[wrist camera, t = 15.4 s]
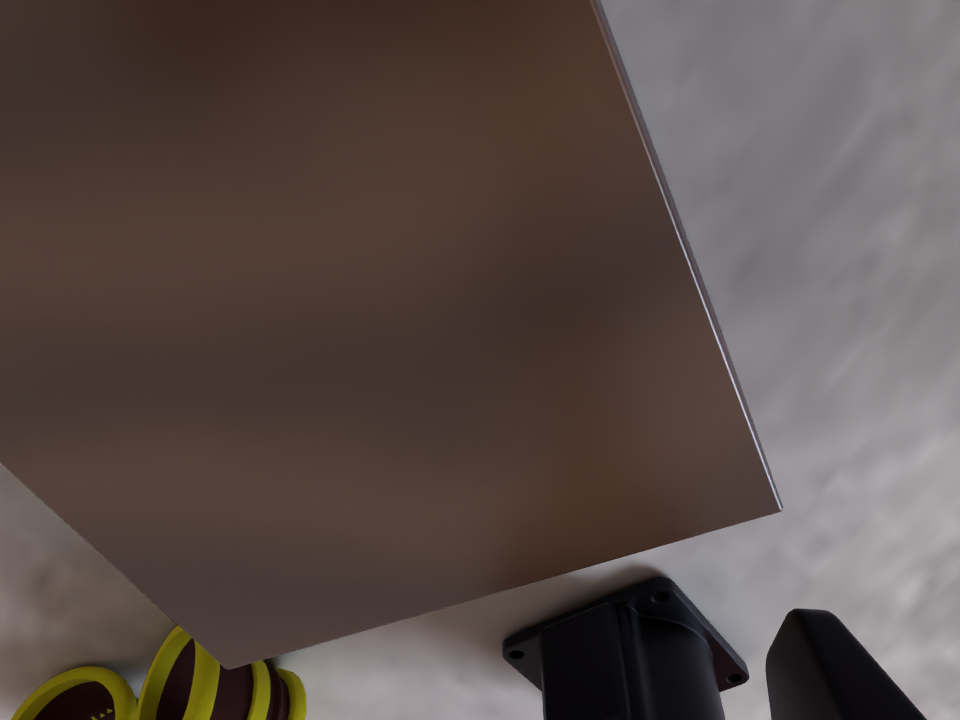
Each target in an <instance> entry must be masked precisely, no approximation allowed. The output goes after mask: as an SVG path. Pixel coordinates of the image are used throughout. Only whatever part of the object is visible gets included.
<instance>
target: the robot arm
mask: <svg viewBox="0 0 960 720" xmlns="http://www.w3.org/2000/svg"><path fill="white" fill-rule="evenodd" d="M502 650H503V658H504V659H505V660H506V661H507V662H508V663H509V664H511V665H512V666H513V667H514V668H515V669H516V670H518V671H519V672H520V673H521V674H522V675H523V676H525V677H526V678H527V679H528V680H529V681H530V682H531V683H533V684H534V685H535V686H536V687H537V688H538V689H540V690H541V691H542V699H543V716H544V720H725V715H724V711H723V707H722V702H721V698H720V693H719V692H722V691H724V690H727V689H730V688H733V687H736V686H739V685H741V684H743V683H745V682H746V681H747V680H748V679H749V673H748V669H747V666H746V663H745V662H744V661H743V660H742V659H741V658H740V657H739V655H738V654H737V653H736V652H735V651H734V650H733V649H732V647H731V646H730V645H729V644H728V643H727V642H726V641H725V640H724V638H723V637H722V636H721V635H720V634H719V633H718V632H717V630H716V629H715V628H714V627H713V626H712V625H711V624H710V622H709V621H708V620H707V619H706V618H705V617H704V616H703V615H702V613H701V612H700V611H699V610H698V609H697V608H696V607H695V605H694V604H693V603H692V602H691V601H690V600H689V599H688V598H687V596H686V595H685V594H684V593H683V592H682V591H681V590H680V588H679V587H678V586H677V585H676V584H675V583H674V582H673V581H672V580H671V579H669V578H665V577H657V578H654V579H651V580H648V581H646V582H643V583H641V584H638V585H636V586H633V587H631V588H628V589H626V590H624V591H621V592H619V593H616V594H614V595H611V596H609V597H606V598H604V599H601V600H599V601H597V602H594V603H592V604H589V605H587V606H584V607H582V608H579V609H577V610H574V611H572V612H570V613H567V614H565V615H562V616H560V617H557V618H555V619H552V620H550V621H547V622H545V623H543V624H540V625H538V626H535V627H533V628H530V629H528V630H525V631H523V632H520V633H518V634H516V635H513V636H511V637H508V638H507V639H505V640H504V641H503V643H502ZM766 679H767V687H768V695H769V702H770V710H771V718H772V720H927V719H926V718H925V717H924V716H923V715H922V713H921V712H920V711H919V710H918V709H917V708H916V707H915V705H914V704H913V703H912V702H911V701H910V700H909V699H908V697H907V696H906V695H905V694H904V693H903V692H902V691H901V689H900V688H899V687H898V686H897V685H896V684H895V683H894V681H893V680H892V679H891V678H890V677H889V676H888V675H887V673H886V672H885V671H884V670H883V669H882V668H881V667H880V665H879V664H878V663H877V662H876V661H875V660H874V659H873V657H872V656H871V655H870V654H869V653H868V652H867V651H866V649H865V648H864V647H863V646H862V645H861V644H860V643H859V642H858V640H857V639H856V638H855V637H854V636H853V635H852V634H851V632H850V631H849V630H848V629H847V628H846V627H845V626H844V624H843V623H842V622H841V621H840V620H839V619H838V618H837V617H836V616H835V615H834V614H832V613H830V612H829V611H825V610H814V609H793V610H792V611H790V612H789V613H788V614H787V616H786V617H785V619H784V621H783V623H782V625H781V627H780V629H779V631H778V633H777V635H776V637H775V639H774V641H773V643H772V645H771V647H770V649H769V651H768V654H767V658H766Z"/></svg>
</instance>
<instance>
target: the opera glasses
mask: <svg viewBox="0 0 960 720" xmlns="http://www.w3.org/2000/svg"><path fill="white" fill-rule="evenodd" d="M89 681H90V682H89ZM159 700H160V701H159ZM47 703H48V704H47ZM46 704H47V705H46ZM45 705H46V706H45ZM44 706H45V707H44ZM305 716H306V693H305V689H304V685H303V684H302V682H301V680H300V678H299V677H298V676H297V675H296V674H294V673H293V672H290V671H287V670H284V669H279V668H274V667H273V666H272V665H270V664H268V663H264V662H263V660H261V661H257V662H254V663H250V664H247V665H244V666H240V667H237V668H233V669H230V670H229V669H226V668H224V667H223V666H222V665H221V664H220V663H219V662H218V661H217V660H216V659H215V658H213V657H212V656H211V655H210V654H209V653H208V652H207V651H206V650H205V649H204V648H203V647H201V646H200V645H199V644H198V643H197V642H196V641H195V640H194V639H193V638H192V637H191V636H189V635H188V634H187V633H186V632H185V631H184V630H183V629H182V628H181V627H180V626H178V625H177V626H176V627H175V628H174V629H173V630H172V631H171V633H170V634H169V635H168V637H167V638H166V640H165V641H164V643H163V644H162V646H161V647H160V649H159V650H158V652H157V655H156V657H155V659H154V661H153V663H152V665H151V667H150V669H149V671H148V674H147V677H146V679H145V682H144V685H143V687H142V690H141V693H140V697H139V699H137V698H136V697H134V694H133V691H132V689H131V688H130V686H129V685H128V683H127V682H126V680H125V679H123V678H122V677H121V676H120V675H119V674H117V673H116V672H114V671H111V670H109V669H106V668H103V667H95V666H87V667H79V668H75V669H72V670H69V671H66V672H63V673H61V674H59V675H57V676H55V677H54V678H52V679H51V680H49V681H47V682H46V683H44V684H43V685H41V686H40V687H39V688H38V689H37V690H36V691H35V692H33V693H32V694H31V695H30V696H29V697H28V698H27V699H26V700H25V701H24V703H23V704H22V705H21V706H20V707H19V708H18V710H17V711H16V713H15V714H14V716H13V717H12V719H11V720H305Z"/></svg>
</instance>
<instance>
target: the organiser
mask: <svg viewBox="0 0 960 720" xmlns="http://www.w3.org/2000/svg"><path fill="white" fill-rule="evenodd" d="M0 463H1V464H2V465H3V466H5V467H6V468H7V469H8V470H9V471H10V472H11V473H12V474H13V475H14V476H15V477H17V478H18V479H19V480H20V481H21V482H22V483H23V484H24V485H25V486H26V487H28V488H29V489H30V490H31V491H32V492H33V493H34V494H35V495H36V496H37V497H38V498H40V499H41V500H42V501H43V502H44V503H45V504H46V505H47V506H48V507H49V508H50V509H52V510H53V511H54V512H55V513H56V514H57V515H58V516H59V517H60V518H61V519H63V520H64V521H65V522H66V523H67V524H68V525H69V526H70V527H71V528H72V529H73V530H75V531H76V532H77V533H78V534H79V535H80V536H81V537H82V538H83V539H84V540H85V541H87V542H88V543H89V544H90V545H91V546H92V547H93V548H94V549H95V550H96V551H98V552H99V553H100V554H101V555H102V556H103V557H104V558H105V559H106V560H107V561H108V562H110V563H111V564H112V565H113V566H114V567H115V568H116V569H117V570H118V571H119V572H121V573H122V574H123V575H124V576H125V577H126V578H127V579H128V580H129V581H130V582H131V583H133V584H134V585H135V586H136V587H137V588H138V589H139V590H140V591H141V592H142V593H143V594H145V595H146V596H147V597H148V598H149V599H150V600H151V601H152V602H153V603H154V604H156V605H157V606H158V607H159V608H160V609H161V610H162V611H163V612H164V613H165V614H166V615H168V616H169V617H170V618H171V619H172V620H173V621H174V622H175V623H176V624H177V625H178V626H180V627H181V628H182V629H183V630H184V631H185V632H186V633H187V634H188V635H189V636H191V637H192V638H193V639H194V640H195V641H196V642H197V643H198V644H199V645H200V646H201V647H203V648H204V649H205V650H206V651H207V652H208V653H209V654H210V655H211V656H212V657H213V658H215V659H216V660H217V661H218V662H219V663H220V664H221V665H222V666H223V667H224V668H226V669H229V670H230V669H233V668H237V667H240V666H244V665H247V664H250V663H254V662H257V661H261V660H264V659H268V658H271V657H275V656H278V655H282V654H285V653H289V652H292V651H296V650H299V649H303V648H306V647H310V646H313V645H317V644H320V643H324V642H327V641H331V640H334V639H338V638H341V637H345V636H348V635H352V634H355V633H359V632H362V631H366V630H369V629H373V628H376V627H380V626H383V625H387V624H390V623H394V622H397V621H401V620H404V619H408V618H411V617H415V616H418V615H422V614H425V613H429V612H432V611H436V610H439V609H443V608H446V607H450V606H453V605H457V604H460V603H464V602H467V601H470V600H474V599H477V598H481V597H484V596H488V595H491V594H495V593H498V592H502V591H505V590H509V589H512V588H516V587H519V586H523V585H526V584H530V583H533V582H537V581H540V580H544V579H547V578H551V577H554V576H558V575H561V574H565V573H568V572H572V571H575V570H579V569H582V568H586V567H589V566H593V565H596V564H600V563H603V562H607V561H610V560H614V559H617V558H621V557H624V556H628V555H631V554H635V553H638V552H642V551H645V550H649V549H652V548H656V547H659V546H663V545H666V544H670V543H673V542H677V541H680V540H684V539H687V538H691V537H694V536H697V535H701V534H704V533H708V532H711V531H715V530H718V529H722V528H725V527H729V526H732V525H736V524H739V523H743V522H746V521H750V520H753V519H757V518H760V517H764V516H767V515H771V514H774V513H778V512H781V511H782V509H783V506H782V503H781V500H780V497H779V494H778V491H777V489H776V486H775V483H774V480H773V477H772V474H771V471H770V468H769V466H768V463H767V460H766V457H765V454H764V451H763V448H762V446H761V443H760V440H759V437H758V434H757V431H756V428H755V425H754V423H753V420H752V417H751V414H750V411H749V408H748V405H747V403H746V400H745V397H744V394H743V391H742V388H741V385H740V382H739V380H738V377H737V374H736V371H735V368H734V365H733V362H732V360H731V357H730V354H729V351H728V348H727V345H726V342H725V339H724V337H723V334H722V331H721V328H720V326H719V323H718V320H717V317H716V315H715V312H714V309H713V306H712V304H711V301H710V298H709V296H708V293H707V290H706V287H705V285H704V282H703V279H702V276H701V274H700V271H699V268H698V266H697V263H696V260H695V257H694V255H693V252H692V249H691V247H690V244H689V241H688V238H687V236H686V233H685V230H684V227H683V225H682V222H681V219H680V217H679V214H678V211H677V208H676V206H675V203H674V200H673V197H672V195H671V192H670V189H669V187H668V184H667V181H666V178H665V176H664V173H663V170H662V167H661V165H660V162H659V159H658V157H657V154H656V151H655V148H654V146H653V143H652V140H651V137H650V135H649V132H648V129H647V127H646V124H645V121H644V118H643V116H642V113H641V110H640V108H639V105H638V102H637V99H636V97H635V94H634V91H633V88H632V86H631V83H630V80H629V78H628V75H627V72H626V69H625V67H624V64H623V61H622V58H621V56H620V53H619V50H618V48H617V45H616V42H615V39H614V37H613V34H612V31H611V28H610V26H609V23H608V20H607V18H606V15H605V12H604V9H603V7H602V4H601V1H600V0H0Z"/></svg>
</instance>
